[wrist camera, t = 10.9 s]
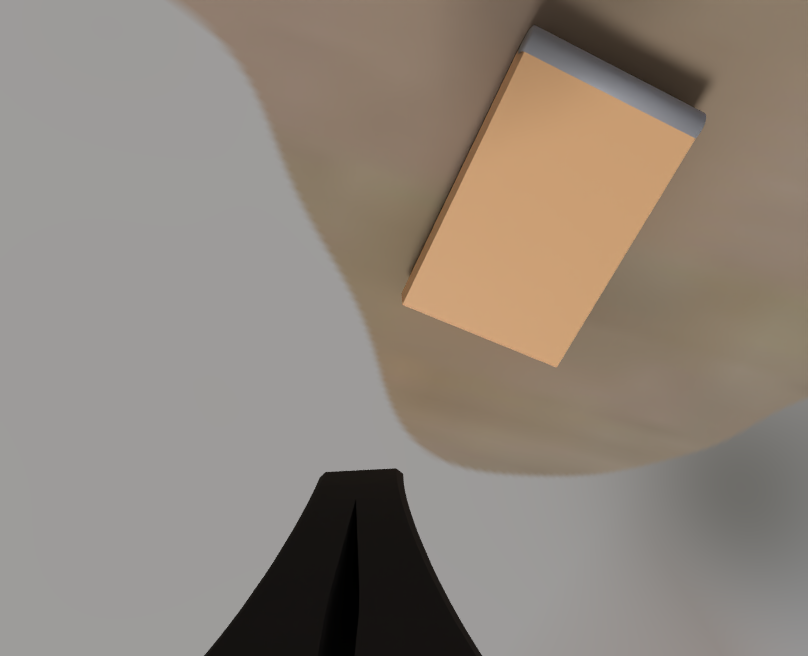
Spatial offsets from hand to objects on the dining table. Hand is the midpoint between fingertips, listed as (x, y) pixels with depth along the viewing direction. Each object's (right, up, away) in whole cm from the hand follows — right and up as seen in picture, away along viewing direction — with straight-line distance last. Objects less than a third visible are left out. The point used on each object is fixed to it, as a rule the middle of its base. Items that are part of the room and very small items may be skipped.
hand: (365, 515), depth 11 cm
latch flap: (+4, +7, +7) cm, 11 cm away
